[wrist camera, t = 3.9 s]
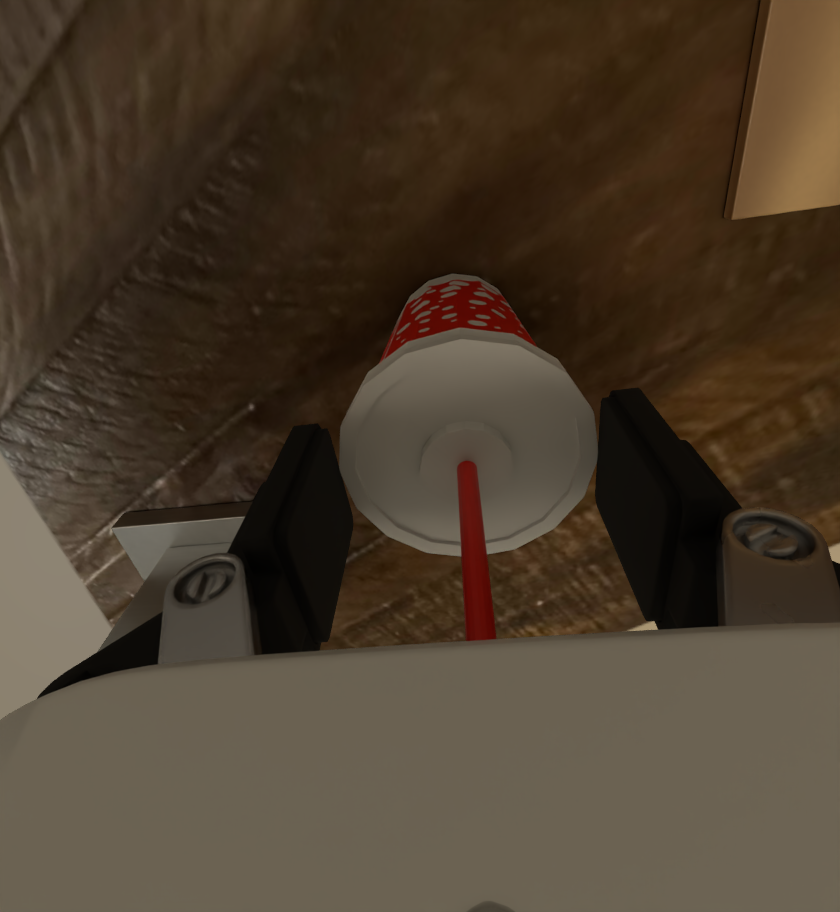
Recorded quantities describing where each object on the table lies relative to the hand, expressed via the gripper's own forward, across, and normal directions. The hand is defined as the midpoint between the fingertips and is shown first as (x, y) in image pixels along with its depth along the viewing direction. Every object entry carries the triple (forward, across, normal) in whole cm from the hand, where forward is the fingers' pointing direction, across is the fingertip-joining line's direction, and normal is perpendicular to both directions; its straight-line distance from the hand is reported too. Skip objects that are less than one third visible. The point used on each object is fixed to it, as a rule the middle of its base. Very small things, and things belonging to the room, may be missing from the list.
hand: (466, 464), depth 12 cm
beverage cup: (+9, 0, 0) cm, 9 cm away
